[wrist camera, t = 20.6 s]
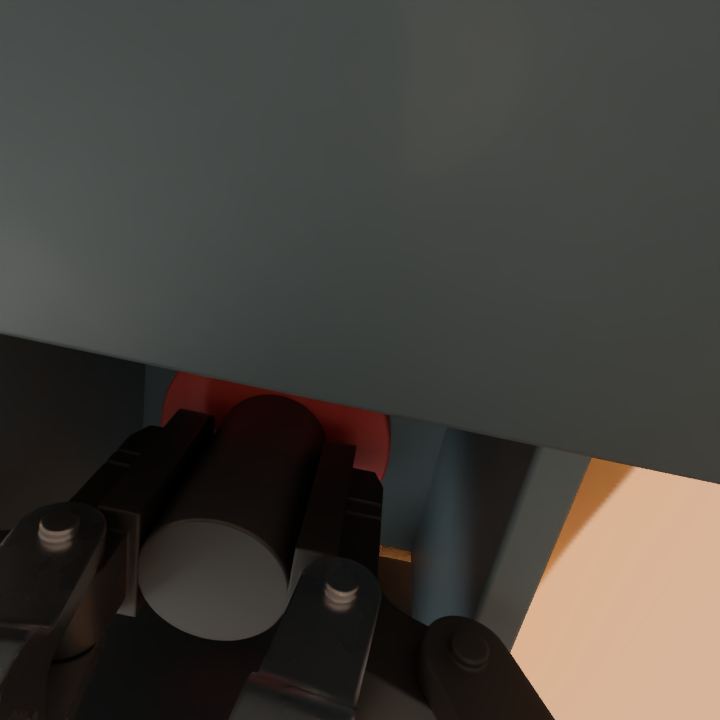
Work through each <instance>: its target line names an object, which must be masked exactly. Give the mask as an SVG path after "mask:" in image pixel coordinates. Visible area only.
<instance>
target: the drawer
mask: <svg viewBox="0 0 720 720" xmlns="http://www.w3.org/2000/svg"><path fill="white" fill-rule="evenodd" d="M177 372H178V371H176V370H172V369H167V368H162V367H157V366H152V365H148V364H143V363H138V362H133V361H129V360H124V359H119V358H114V357H109V356H105V355H100V354H95V353H90V352H85V351H81V350H76V349H71V348H66V347H62V346H57V345H52V344H47V343H42V342H38V341H33V340H28V339H23V338H19V337H14V336H9V335H4V334H0V530H11V529H12V528H13V527H14V526H15V524H16V523H17V522H18V521H19V520H20V519H21V518H22V517H24V516H25V515H26V514H28V513H30V512H31V511H33V510H36V509H38V508H40V507H43V506H46V505H50V504H54V503H60V502H68V501H69V500H70V499H71V498H72V497H73V496H74V495H75V494H76V493H77V492H78V491H79V490H80V488H81V487H82V486H83V485H84V484H85V483H86V482H87V481H88V480H89V479H90V478H91V477H92V476H93V474H94V473H95V472H96V471H97V470H98V469H99V468H100V467H101V466H102V465H103V464H104V463H106V462H107V459H108V458H109V457H110V456H111V455H112V454H113V453H114V452H115V451H116V452H117V449H118V448H119V447H120V446H121V444H122V443H123V442H124V441H125V440H126V439H127V438H128V437H129V436H130V435H131V434H133V433H135V432H137V431H139V430H141V429H143V428H145V427H148V426H150V425H154V426H159V427H161V414H162V407H163V402H164V399H165V395H166V392H167V390H168V387H169V385H170V383H171V381H172V379H173V378H174V376H175V375H176V373H177ZM390 420H391V446H390V456H389V462H388V466H387V469H386V472H385V475H384V478H383V480H382V481H381V484H382V486H383V488H384V490H383V505H382V519H381V535H380V545H383V546H388V547H393V548H398V549H402V550H407V551H412V552H411V562H407V561H402V560H397V559H392V558H387V557H383V556H379V565H378V580H379V584H380V586H381V589H382V591H383V593H384V594H385V596H386V597H387V598H388V600H389V601H390V602H391V603H392V604H393V605H394V606H395V607H396V608H397V609H399V610H400V611H401V612H403V613H405V614H406V615H408V616H410V617H412V618H414V619H416V620H418V621H419V622H421V623H423V624H425V625H427V626H429V625H430V624H431V623H432V622H433V621H435V620H437V619H439V618H441V617H444V616H452V615H453V616H463V617H467V618H470V619H473V620H475V621H477V622H479V623H481V624H483V625H484V626H486V627H488V628H489V629H490V630H491V631H493V632H494V633H495V634H496V635H497V636H498V637H499V638H500V640H501V641H502V642H503V643H504V645H505V646H506V648H507V649H508V651H509V652H511V649H512V646H513V644H514V642H515V640H516V637H517V635H518V632H519V630H520V628H521V625H522V623H523V620H524V618H525V615H526V613H527V611H528V608H529V606H530V604H531V601H532V599H533V597H534V594H535V592H536V589H537V587H538V585H539V582H540V580H541V577H542V575H543V573H544V570H545V568H546V565H547V563H548V561H549V558H550V556H551V553H552V551H553V549H554V546H555V544H556V541H557V539H558V537H559V534H560V532H561V530H562V527H563V525H564V522H565V520H566V518H567V515H568V513H569V510H570V508H571V506H572V503H573V501H574V498H575V496H576V494H577V491H578V489H579V486H580V484H581V482H582V479H583V477H584V474H585V472H586V470H587V467H588V465H589V463H590V460H591V458H592V457H588V456H583V455H578V454H573V453H569V452H564V451H559V450H554V449H549V448H545V447H540V446H535V445H530V444H525V443H521V442H516V441H511V440H506V439H502V438H497V437H492V436H487V435H482V434H478V433H473V432H468V431H463V430H459V429H454V428H449V427H444V426H439V425H435V424H430V423H425V422H420V421H415V420H411V419H406V418H401V417H396V416H392V415H390ZM282 617H283V615H282ZM282 617H281V618H280V619H279V620H278V621H277V622H276V623H275V624H274V625H273V626H272V627H270V628H269V629H268V630H266V631H264V632H263V633H261V634H258V635H256V636H253V637H250V638H246V639H242V640H234V641H220V640H211V639H205V638H201V637H197V636H194V635H192V634H189V633H186V632H184V631H182V630H180V629H178V628H176V627H175V626H173V625H171V624H170V623H168V622H167V621H165V620H164V619H163V618H162V617H160V616H159V615H158V614H157V613H156V612H155V611H154V610H153V609H152V608H151V606H150V605H149V604H148V603H147V601H146V600H145V601H144V603H143V605H142V606H141V608H140V610H139V612H138V614H137V615H136V617H132V616H127V615H122V614H117V613H116V615H115V616H114V618H113V619H112V621H111V623H110V624H109V626H108V628H107V629H106V631H105V642H104V647H103V650H102V652H101V655H100V657H99V659H98V662H97V664H96V666H95V669H94V671H93V673H92V676H91V678H90V681H89V683H88V685H87V688H86V690H85V692H84V695H83V697H82V699H81V702H80V704H79V706H78V709H77V711H76V713H75V716H74V718H73V720H228V719H229V716H230V714H231V712H232V710H233V708H234V705H235V703H236V701H237V699H238V697H239V694H240V692H241V690H242V688H243V686H244V684H245V682H246V680H247V679H248V677H249V675H250V674H251V673H252V672H256V673H257V672H258V671H259V669H260V667H261V665H262V662H263V660H264V658H265V656H266V653H267V651H268V649H269V647H270V644H271V642H272V640H273V637H274V635H275V633H276V631H277V628H278V626H279V624H280V622H281V619H282Z"/></svg>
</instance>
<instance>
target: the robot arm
mask: <svg viewBox="0 0 720 720" xmlns="http://www.w3.org/2000/svg"><path fill="white" fill-rule="evenodd" d="M214 425H215V420H214V416H213V415H210V414H206V413H201V412H196V411H191V410H186V409H182V408H181V409H179V410H178V411H177V412H176V413H175V414H174V415H173V416H172V418H171V419H170V420H169V421H168V422H167V424H166V425H165V426H164V427H159V426H154V425H150V426H148V427H145V428H143V429H141V430H139V431H137V432H135V433H133V434H131V435H130V436H129V437H128V438H127V439H126V440H125V441H124V442H123V443H122V444H121V446H120V447H119V448H118V449H117V452H116V451H115V452H114V453H113V454H112V455H111V456H110V457H109V458H108V459H107V462H106V463H104V464H103V465H102V466H101V467H100V468H99V469H98V470H97V471H96V472H95V473H94V474H93V476H92V477H91V478H90V479H89V480H88V481H87V482H86V483H85V484H84V485H83V486H82V487H81V488H80V490H79V491H78V492H77V493H76V494H75V495H74V496H73V497H72V498H71V499H70V500H69V501H68V502H60V503H54V504H50V505H46V506H43V507H40V508H38V509H36V510H33V511H31V512H30V513H28V514H26V515H25V516H24V517H22V518H21V519H20V520H19V521H18V522H17V523H16V524H15V526H14V527H13V528H12V529H11V530H0V720H73V718H74V716H75V713H76V711H77V709H78V706H79V704H80V702H81V699H82V697H83V695H84V692H85V690H86V688H87V685H88V683H89V681H90V678H91V676H92V673H93V671H94V669H95V666H96V664H97V662H98V659H99V657H100V655H101V652H102V650H103V647H104V642H105V631H106V629H107V628H108V626H109V624H110V623H111V621H112V619H113V618H114V616H115V615H116V613H117V614H122V615H127V616H132V617H136V615H137V614H138V612H139V610H140V608H141V606H142V605H143V603H144V601H145V598H144V596H143V595H142V593H141V591H140V588H139V585H138V558H139V551H140V547H141V546H142V544H143V542H144V540H145V539H146V537H147V536H148V534H149V533H150V531H151V530H152V528H153V527H154V525H155V524H156V522H157V521H158V519H159V517H160V516H161V514H162V513H163V511H164V510H165V508H166V507H167V505H168V504H169V502H170V501H171V499H172V498H173V496H174V495H175V493H176V491H177V490H178V488H179V487H180V485H181V484H182V482H183V481H184V479H185V478H186V476H187V475H188V473H189V472H190V470H191V468H192V467H193V465H194V464H195V462H196V461H197V459H198V458H199V456H200V455H201V453H202V452H203V450H204V449H205V447H206V446H207V444H208V442H209V441H210V439H211V438H212V436H213V435H214ZM355 452H356V445H352V444H348V443H343V442H338V441H333V440H329V439H325V442H324V445H323V449H322V453H321V456H320V460H319V464H318V467H317V471H316V475H315V478H314V482H313V486H312V489H311V493H310V497H309V500H308V504H307V508H306V511H305V515H304V519H303V522H302V526H301V530H300V533H299V537H298V540H297V544H296V548H295V553H294V558H293V564H292V569H291V574H290V580H289V585H288V591H287V596H286V601H285V607H284V612H283V617H282V619H281V622H280V624H279V626H278V628H277V631H276V633H275V635H274V637H273V640H272V642H271V644H270V647H269V649H268V651H267V653H266V656H265V658H264V660H263V662H262V665H261V667H260V669H259V671H258V672H257V673H256V672H252V673H251V674H250V675H249V677H248V679H247V680H246V682H245V684H244V686H243V688H242V690H241V692H240V694H239V697H238V699H237V701H236V703H235V705H234V708H233V710H232V712H231V714H230V716H229V719H228V720H555V719H554V718H553V716H552V715H551V713H550V712H549V710H548V709H547V707H546V706H545V704H544V703H543V701H542V700H541V698H540V697H539V695H538V694H537V693H536V691H535V690H534V688H533V686H532V685H531V683H530V682H529V680H528V679H527V678H526V676H525V675H524V673H523V672H522V670H521V669H520V667H519V666H518V664H517V663H516V661H515V660H514V658H513V657H512V655H511V654H510V652H509V651H508V649H507V648H506V646H505V645H504V643H503V642H502V641H501V640H500V638H499V637H498V636H497V635H496V634H495V633H494V632H493V631H491V630H490V629H489V628H488V627H486V626H484V625H483V624H481V623H479V622H477V621H475V620H473V619H470V618H467V617H463V616H453V615H452V616H444V617H441V618H439V619H437V620H435V621H433V622H432V623H431V624H430V625H429V626H427V625H425V624H423V623H421V622H419V621H418V620H416V619H414V618H412V617H410V616H408V615H406V614H405V613H403V612H401V611H400V610H399V609H397V608H396V607H395V606H394V605H393V604H392V603H391V602H390V601H389V600H388V598H387V597H386V596H385V594H384V593H383V591H382V589H381V586H380V584H379V580H378V565H379V550H380V535H381V519H382V505H383V490H384V488H383V486H382V484H381V482H380V480H379V478H378V476H377V474H376V473H375V472H372V471H367V470H363V469H358V468H353V464H354V458H355Z"/></svg>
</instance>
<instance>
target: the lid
mask: <svg viewBox="0 0 720 720" xmlns="http://www.w3.org/2000/svg"><path fill="white" fill-rule="evenodd" d="M181 408H182V409H186V410H191V411H196V412H201V413H206V414H210V415H213V416H214V420H215V425H214V435H213V436H212V438H211V439H210V441H209V442H208V444H207V446H206V447H205V449H204V450H203V452H202V453H201V455H200V456H199V458H198V459H197V461H196V462H195V464H194V465H193V467H192V468H191V470H190V472H189V473H188V475H187V476H186V478H185V479H184V481H183V482H182V484H181V485H180V487H179V488H178V490H177V491H176V493H175V495H174V496H173V498H172V499H171V501H170V502H169V504H168V505H167V507H166V508H165V510H164V511H163V513H162V514H161V516H160V517H159V519H158V521H157V522H156V524H155V525H154V527H153V528H152V530H151V531H150V533H149V534H148V536H147V537H146V539H145V540H144V542H143V544H142V546H141V547H140V551H139V558H138V585H139V588H140V591H141V593H142V595H143V596H144V598H145V600H146V601H147V603H148V604H149V605H150V606H151V608H152V609H153V610H154V611H155V612H156V613H157V614H158V615H159V616H160V617H162V618H163V619H164V620H165V621H167V622H168V623H170V624H171V625H173V626H175V627H176V628H178V629H180V630H182V631H184V632H186V633H189V634H192V635H194V636H197V637H201V638H205V639H211V640H220V641H234V640H242V639H246V638H250V637H253V636H256V635H258V634H261V633H263V632H264V631H266V630H268V629H269V628H270V627H272V626H273V625H274V624H275V623H276V622H277V621H278V620H279V619H280V618H281V617H282V615H283V612H284V607H285V601H286V596H287V591H288V585H289V580H290V574H291V569H292V564H293V558H294V553H295V548H296V544H297V540H298V537H299V533H300V530H301V526H302V522H303V519H304V515H305V511H306V508H307V504H308V500H309V497H310V493H311V489H312V486H313V482H314V478H315V475H316V471H317V467H318V464H319V460H320V456H321V453H322V449H323V445H324V442H325V439H329V440H333V441H338V442H343V443H348V444H352V445H356V452H355V458H354V464H353V468H358V469H363V470H367V471H372V472H375V473H376V474H377V476H378V478H379V480H380V482H381V481H382V480H383V478H384V475H385V472H386V469H387V466H388V462H389V456H390V446H391V420H390V415H387V414H382V413H377V412H372V411H368V410H363V409H358V408H353V407H349V406H344V405H339V404H334V403H329V402H325V401H320V400H315V399H310V398H305V397H301V396H296V395H291V394H286V393H282V392H277V391H272V390H267V389H262V388H258V387H253V386H248V385H243V384H239V383H234V382H229V381H224V380H219V379H215V378H210V377H205V376H200V375H195V374H191V373H186V372H181V371H178V372H177V373H176V375H175V376H174V378H173V379H172V381H171V383H170V385H169V387H168V390H167V392H166V395H165V399H164V402H163V407H162V414H161V427H164V426H165V425H166V424H167V422H168V421H169V420H170V419H171V418H172V416H173V415H174V414H175V413H176V412H177V411H178V410H179V409H181Z"/></svg>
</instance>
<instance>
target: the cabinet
mask: <svg viewBox="0 0 720 720" xmlns="http://www.w3.org/2000/svg"><path fill="white" fill-rule="evenodd" d="M0 334H4V335H9V336H14V337H19V338H23V339H28V340H33V341H38V342H42V343H47V344H52V345H57V346H62V347H66V348H71V349H76V350H81V351H85V352H90V353H95V354H100V355H105V356H109V357H114V358H119V359H124V360H129V361H133V362H138V363H143V364H148V365H152V366H157V367H162V368H167V369H172V370H176V371H181V372H186V373H191V374H195V375H200V376H205V377H210V378H215V379H219V380H224V381H229V382H234V383H239V384H243V385H248V386H253V387H258V388H262V389H267V390H272V391H277V392H282V393H286V394H291V395H296V396H301V397H305V398H310V399H315V400H320V401H325V402H329V403H334V404H339V405H344V406H349V407H353V408H358V409H363V410H368V411H372V412H377V413H382V414H387V415H392V416H396V417H401V418H406V419H411V420H415V421H420V422H425V423H430V424H435V425H439V426H444V427H449V428H454V429H459V430H463V431H468V432H473V433H478V434H482V435H487V436H492V437H497V438H502V439H506V440H511V441H516V442H521V443H525V444H530V445H535V446H540V447H545V448H549V449H554V450H559V451H564V452H569V453H573V454H578V455H583V456H588V457H592V458H597V459H602V460H607V461H612V462H616V463H621V464H626V465H631V466H635V467H641V468H645V469H650V470H655V471H659V472H665V473H669V474H674V475H679V476H683V477H688V478H693V479H698V480H702V481H707V482H712V483H717V484H720V0H0Z"/></svg>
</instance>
